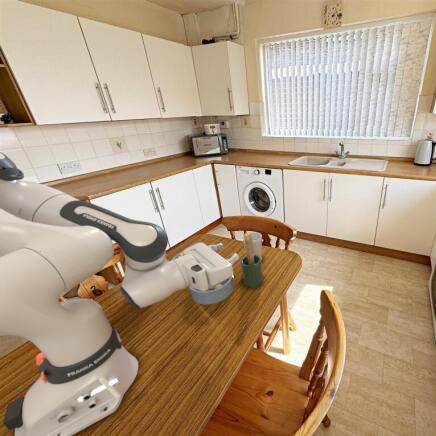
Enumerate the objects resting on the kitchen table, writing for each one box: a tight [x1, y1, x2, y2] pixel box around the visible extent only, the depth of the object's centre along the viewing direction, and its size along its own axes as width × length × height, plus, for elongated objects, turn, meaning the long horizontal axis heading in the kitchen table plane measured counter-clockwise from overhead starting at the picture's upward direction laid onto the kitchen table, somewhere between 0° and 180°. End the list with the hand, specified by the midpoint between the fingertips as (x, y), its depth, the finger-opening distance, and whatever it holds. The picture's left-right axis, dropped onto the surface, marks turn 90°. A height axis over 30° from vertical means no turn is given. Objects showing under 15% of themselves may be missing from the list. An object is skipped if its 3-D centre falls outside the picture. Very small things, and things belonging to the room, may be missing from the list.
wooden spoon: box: [243, 232, 255, 265], centre depth 87 cm, size 2×2×20 cm
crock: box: [240, 255, 264, 288], centre depth 89 cm, size 7×7×10 cm
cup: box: [242, 231, 263, 261], centre depth 102 cm, size 8×8×12 cm
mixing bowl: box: [188, 273, 236, 306], centre depth 86 cm, size 15×15×6 cm
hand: (229, 250), depth 79 cm, fingers open, 8 cm apart
